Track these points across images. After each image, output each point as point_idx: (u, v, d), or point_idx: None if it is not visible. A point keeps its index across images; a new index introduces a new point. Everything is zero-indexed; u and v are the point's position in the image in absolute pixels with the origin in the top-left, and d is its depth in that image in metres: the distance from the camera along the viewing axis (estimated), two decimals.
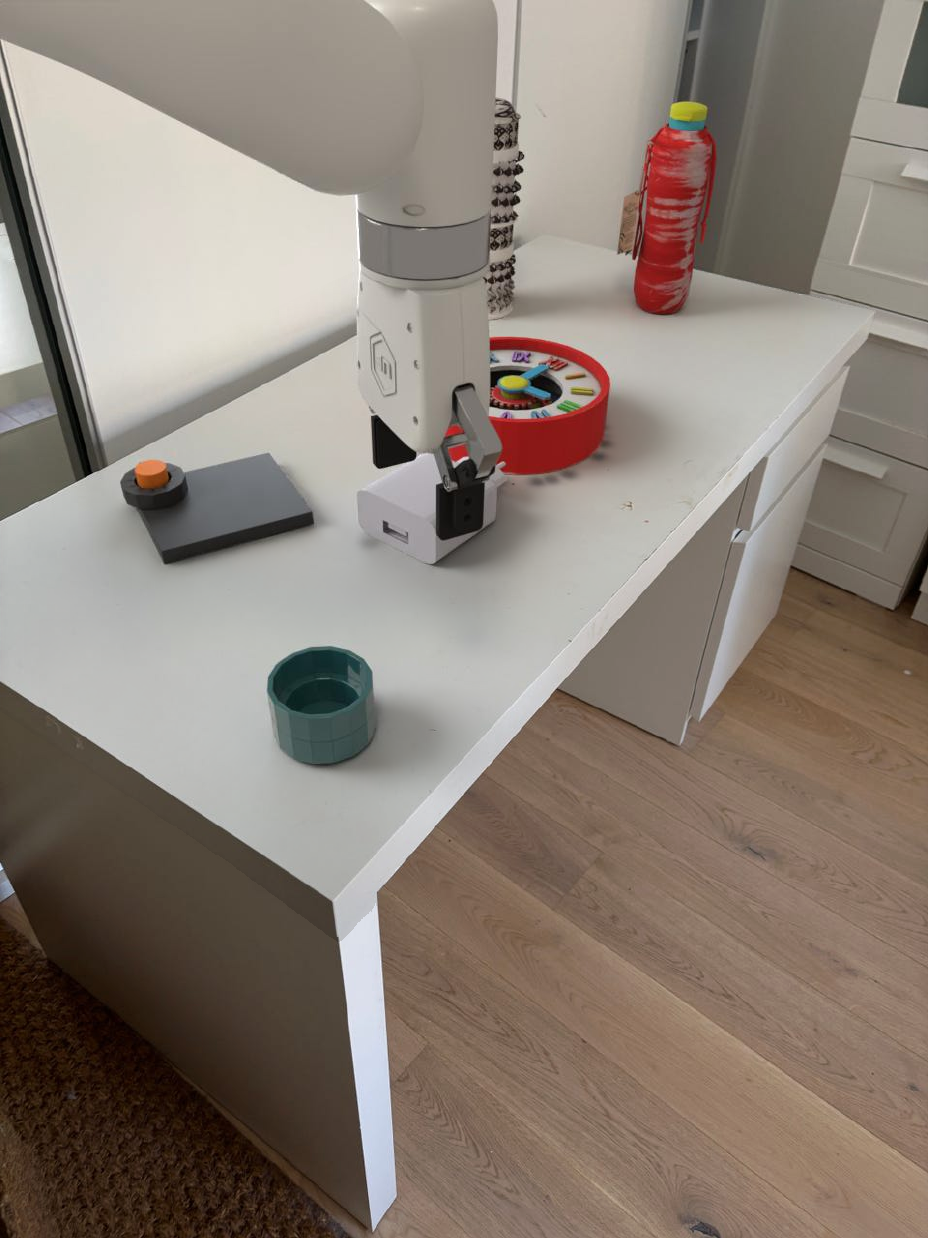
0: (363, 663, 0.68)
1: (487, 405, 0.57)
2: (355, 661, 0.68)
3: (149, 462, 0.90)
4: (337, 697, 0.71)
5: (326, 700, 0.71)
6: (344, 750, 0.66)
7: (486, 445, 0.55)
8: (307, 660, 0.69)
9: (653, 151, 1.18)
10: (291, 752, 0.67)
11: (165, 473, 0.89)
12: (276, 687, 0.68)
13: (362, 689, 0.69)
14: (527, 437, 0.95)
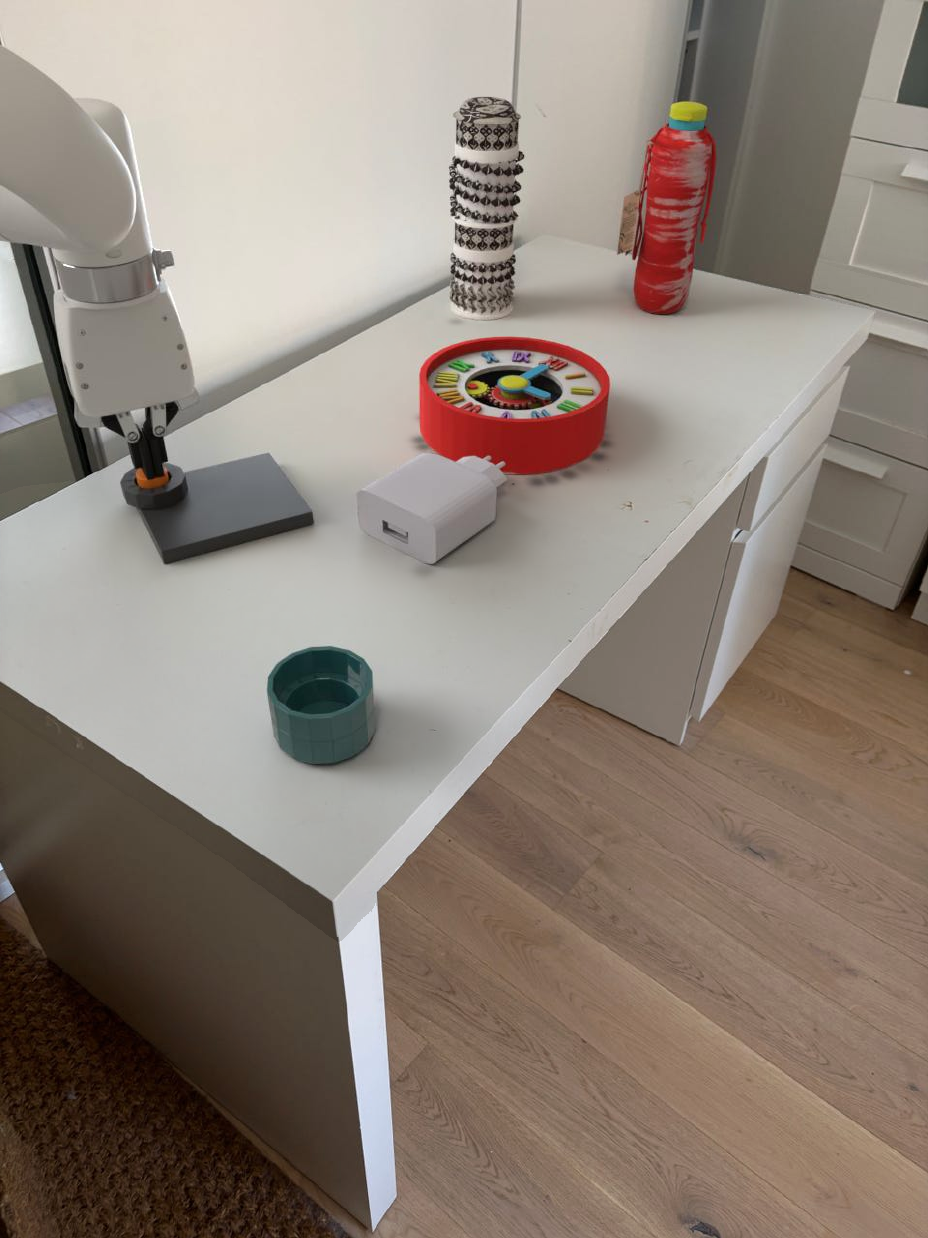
0: (363, 663, 0.68)
1: (75, 391, 0.80)
2: (355, 661, 0.68)
3: None
4: (337, 697, 0.71)
5: (326, 700, 0.71)
6: (344, 750, 0.66)
7: (75, 418, 0.83)
8: (307, 660, 0.69)
9: (653, 151, 1.18)
10: (291, 752, 0.67)
11: (166, 478, 0.89)
12: (276, 687, 0.68)
13: (362, 689, 0.69)
14: (527, 437, 0.95)
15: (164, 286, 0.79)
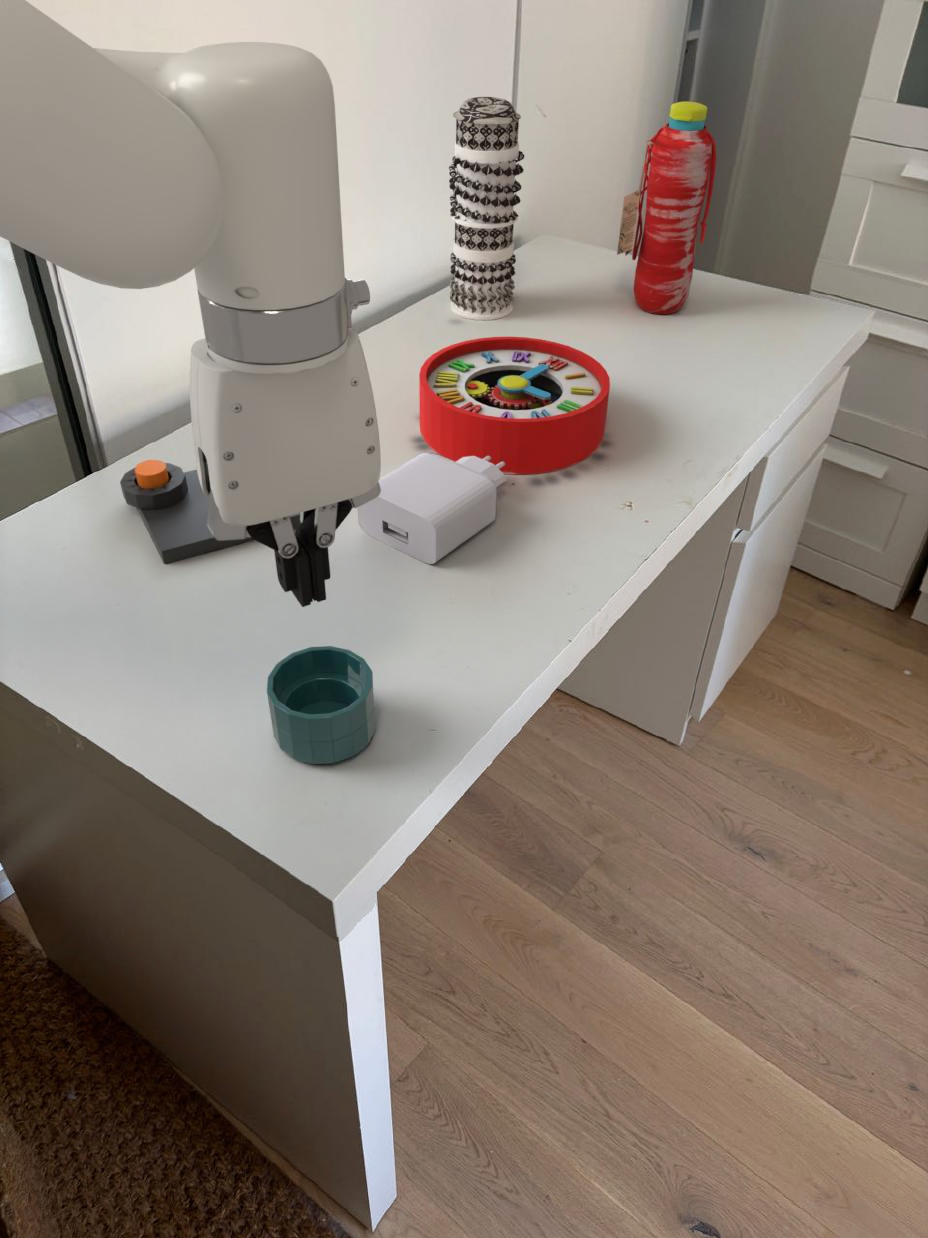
0: (363, 663, 0.68)
1: (218, 492, 0.53)
2: (355, 661, 0.68)
3: (149, 462, 0.90)
4: (337, 697, 0.71)
5: (326, 700, 0.71)
6: (344, 750, 0.66)
7: (208, 527, 0.57)
8: (307, 660, 0.69)
9: (653, 151, 1.18)
10: (291, 752, 0.67)
11: (165, 473, 0.89)
12: (276, 687, 0.68)
13: (362, 689, 0.69)
14: (527, 437, 0.95)
15: (353, 335, 0.53)
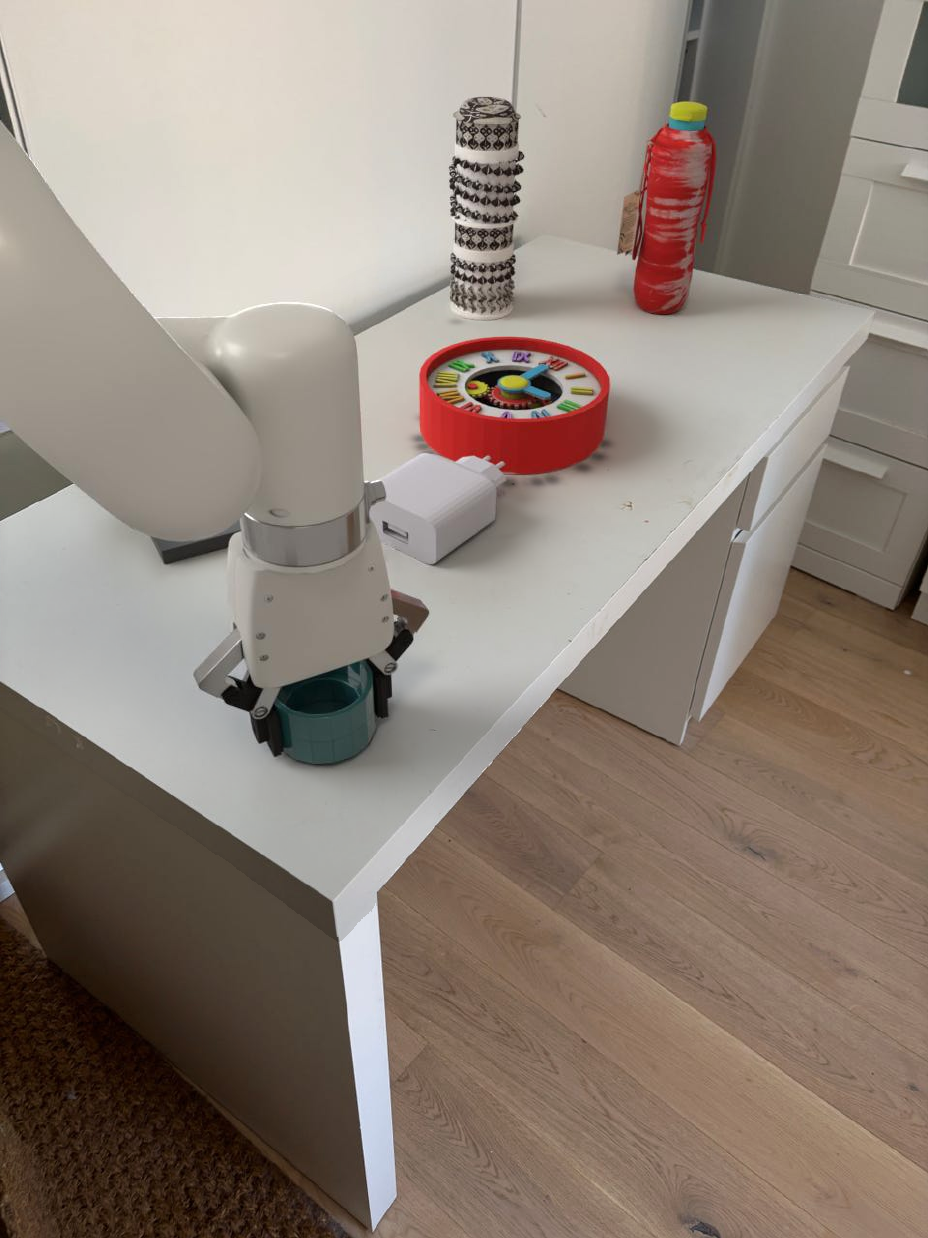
0: (363, 663, 0.68)
1: (250, 663, 0.60)
2: None
3: None
4: (337, 697, 0.71)
5: (327, 700, 0.71)
6: (344, 750, 0.66)
7: (195, 673, 0.61)
8: None
9: (653, 151, 1.18)
10: (291, 752, 0.67)
11: None
12: None
13: (362, 689, 0.69)
14: (527, 437, 0.95)
15: (371, 527, 0.60)
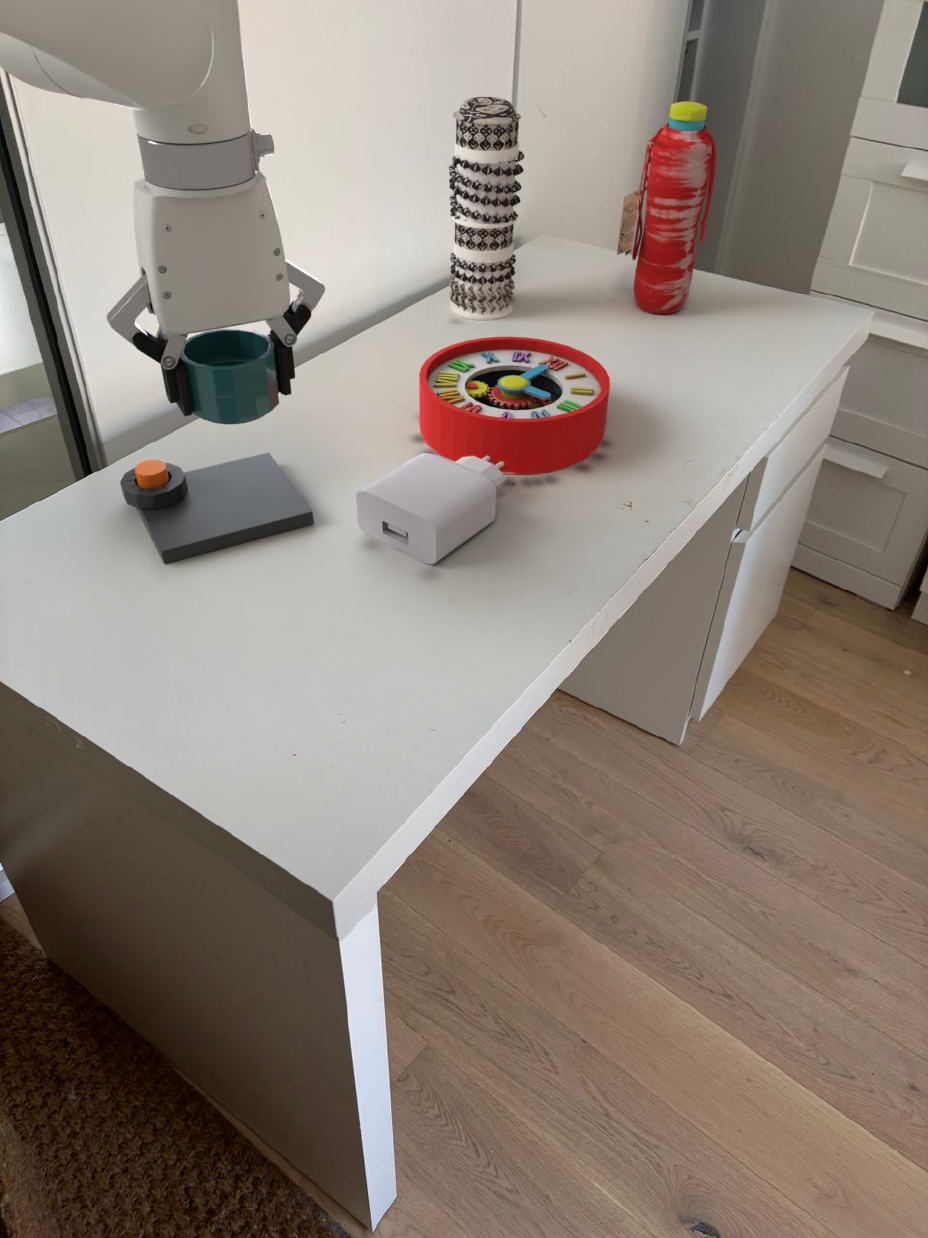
0: (267, 338, 0.76)
1: (155, 301, 0.68)
2: (260, 339, 0.76)
3: (149, 462, 0.90)
4: None
5: None
6: (247, 409, 0.74)
7: (108, 315, 0.69)
8: (218, 341, 0.77)
9: (653, 151, 1.18)
10: (200, 412, 0.74)
11: (165, 473, 0.89)
12: (188, 358, 0.75)
13: None
14: (527, 437, 0.95)
15: (262, 178, 0.67)
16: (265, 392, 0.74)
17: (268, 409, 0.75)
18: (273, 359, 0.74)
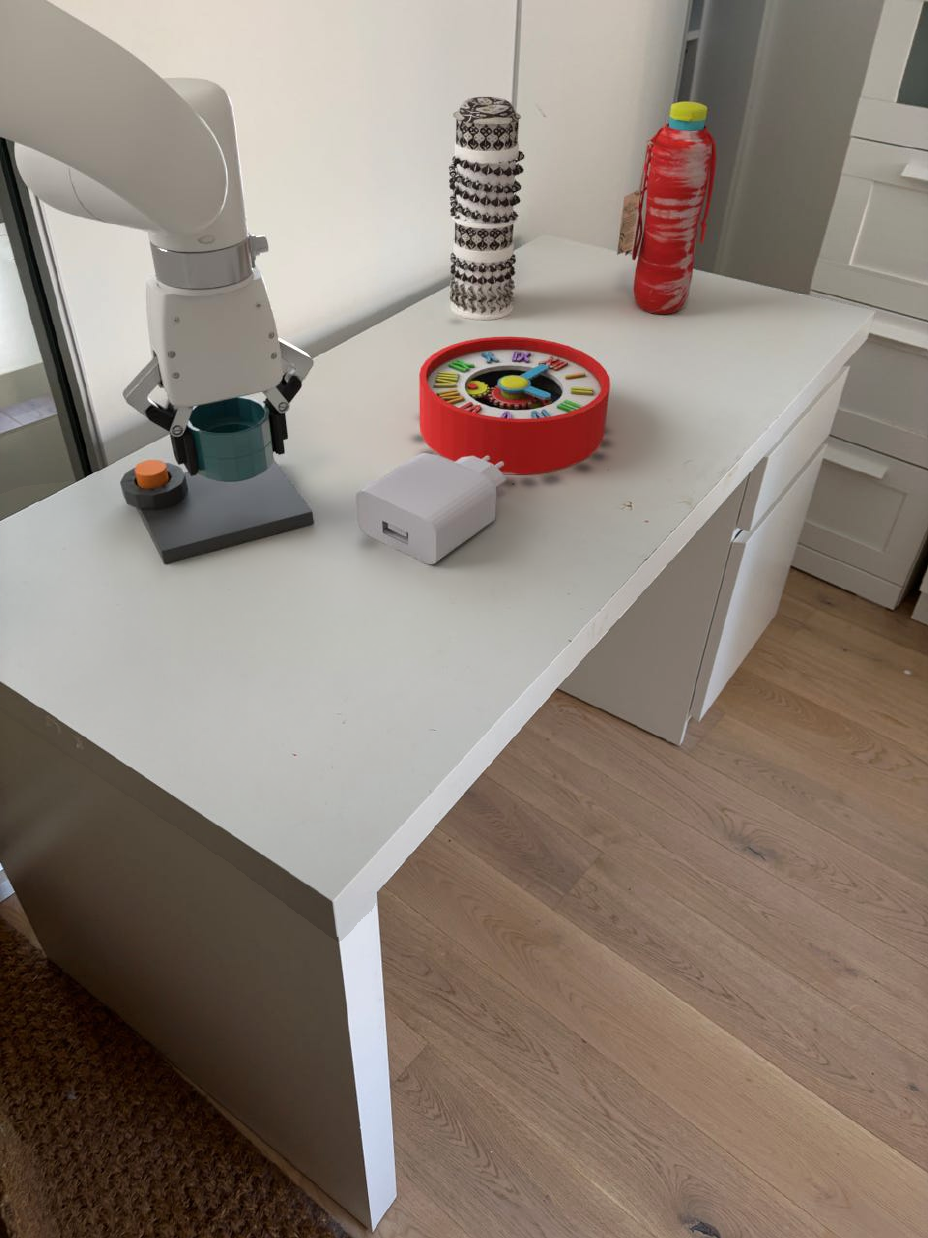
0: (263, 405, 0.86)
1: (165, 380, 0.78)
2: (257, 405, 0.86)
3: (149, 462, 0.90)
4: None
5: None
6: (246, 469, 0.84)
7: (124, 392, 0.79)
8: (219, 406, 0.87)
9: (653, 151, 1.18)
10: (204, 471, 0.84)
11: (165, 473, 0.89)
12: (193, 423, 0.85)
13: None
14: (527, 437, 0.95)
15: (257, 273, 0.77)
16: (261, 454, 0.84)
17: (264, 468, 0.85)
18: (268, 424, 0.84)
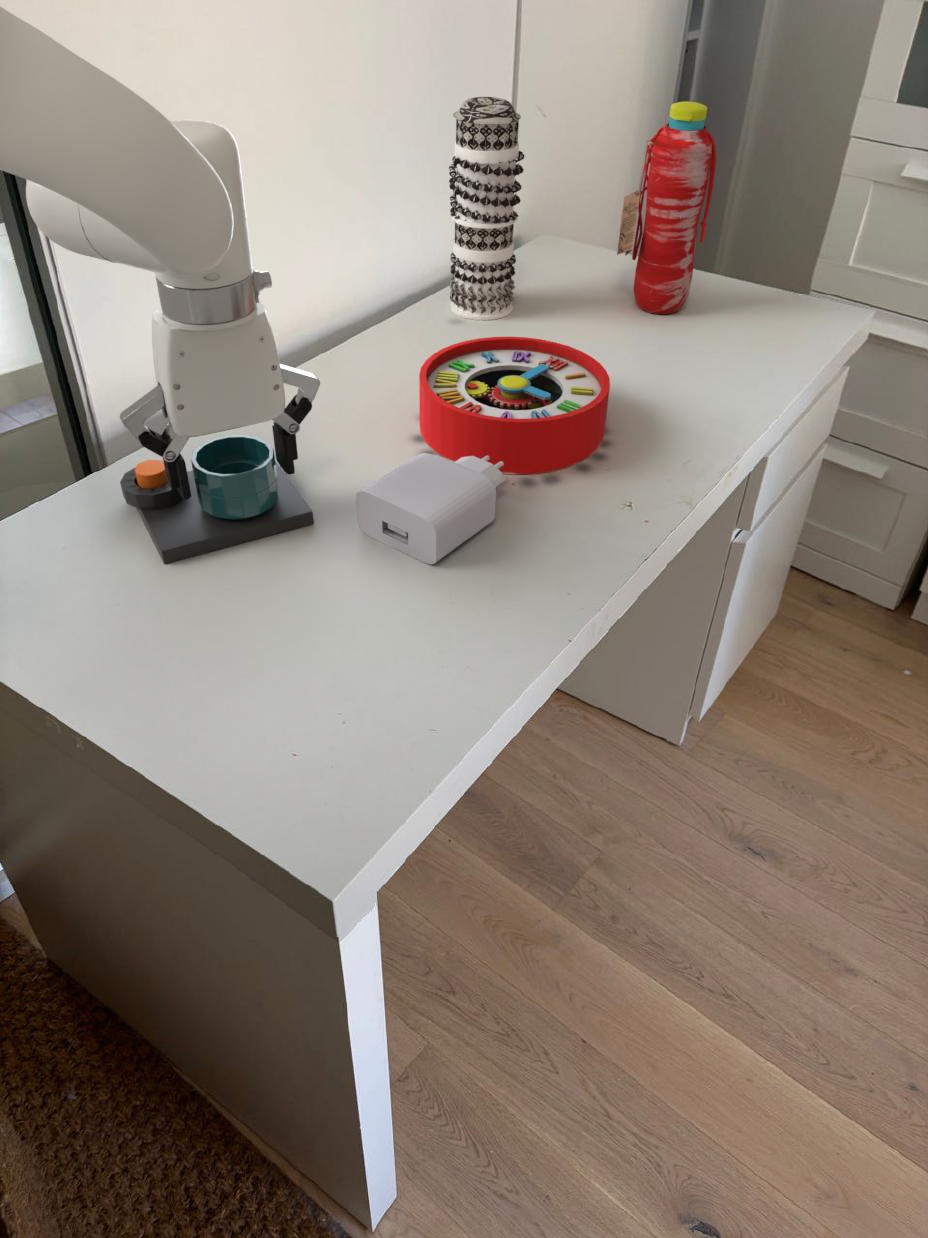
0: (267, 445, 0.88)
1: (170, 412, 0.80)
2: (262, 445, 0.89)
3: (149, 462, 0.90)
4: None
5: None
6: (251, 508, 0.87)
7: (121, 414, 0.80)
8: (225, 446, 0.89)
9: (653, 151, 1.18)
10: (210, 510, 0.87)
11: (165, 473, 0.89)
12: (200, 462, 0.88)
13: None
14: (527, 437, 0.95)
15: (261, 307, 0.79)
16: (266, 492, 0.87)
17: (269, 506, 0.88)
18: (273, 464, 0.87)
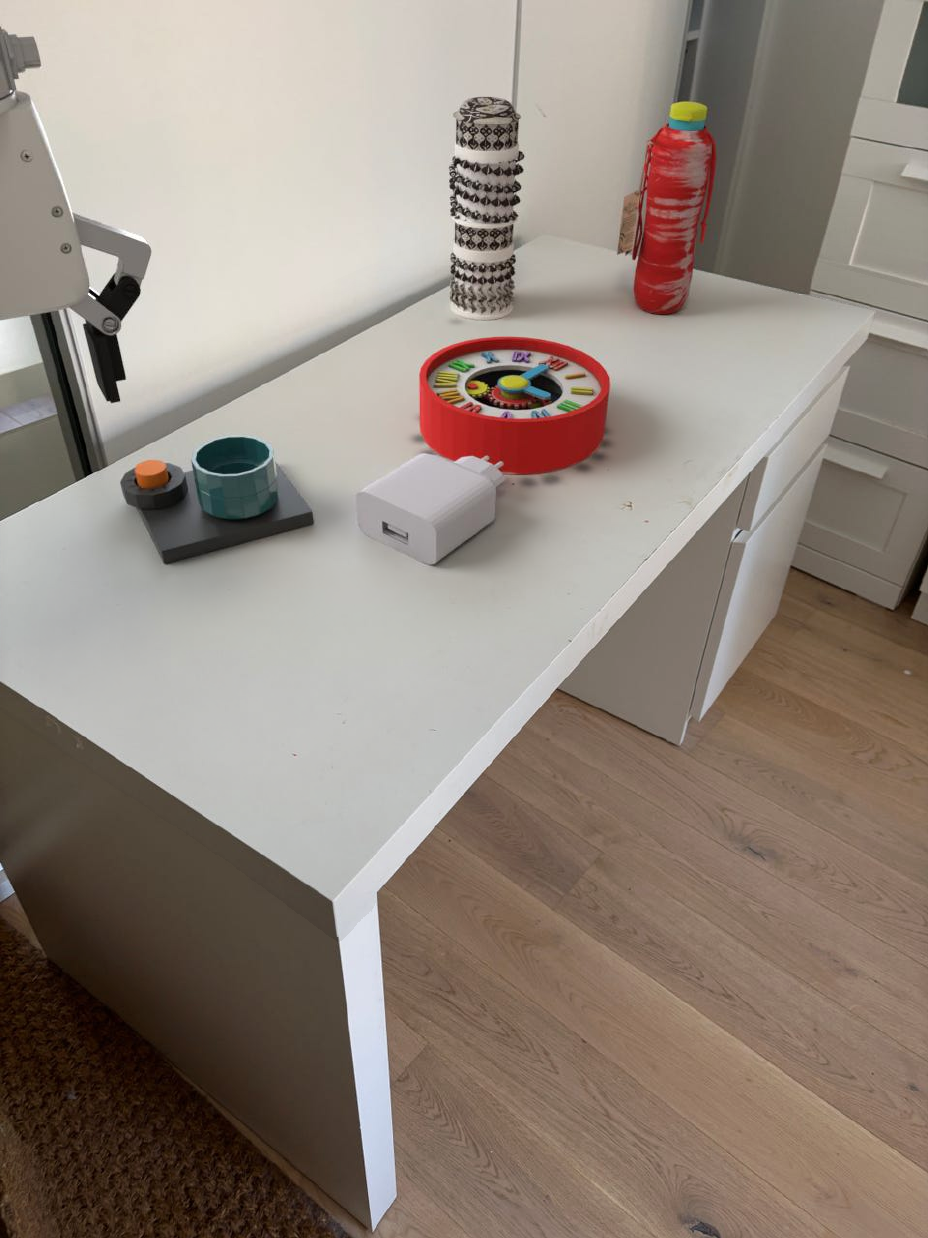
0: (267, 445, 0.88)
1: None
2: (262, 445, 0.89)
3: (149, 462, 0.90)
4: None
5: None
6: (251, 508, 0.87)
7: None
8: (225, 446, 0.89)
9: (653, 151, 1.18)
10: (210, 510, 0.87)
11: (165, 473, 0.89)
12: (200, 462, 0.88)
13: None
14: (527, 436, 0.95)
15: (24, 102, 0.46)
16: (266, 492, 0.87)
17: (269, 506, 0.88)
18: (273, 464, 0.87)
